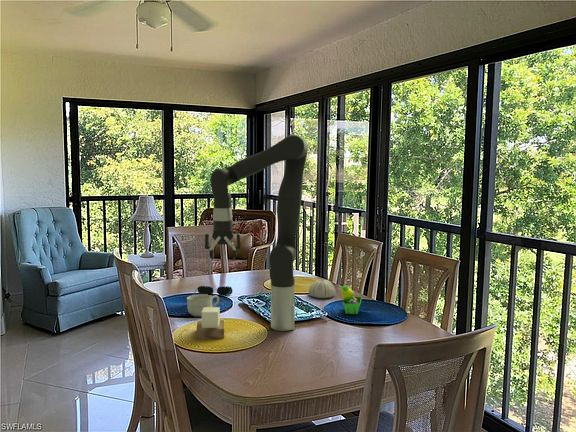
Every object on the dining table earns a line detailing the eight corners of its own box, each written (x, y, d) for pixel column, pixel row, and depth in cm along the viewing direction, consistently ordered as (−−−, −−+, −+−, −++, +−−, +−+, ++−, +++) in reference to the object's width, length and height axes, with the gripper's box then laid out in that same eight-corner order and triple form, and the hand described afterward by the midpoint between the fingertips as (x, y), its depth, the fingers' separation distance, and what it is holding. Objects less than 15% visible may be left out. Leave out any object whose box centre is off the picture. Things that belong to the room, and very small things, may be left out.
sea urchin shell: (326, 301, 222) (326, 284, 222) (302, 296, 231) (302, 280, 230) (340, 295, 233) (340, 279, 232) (317, 291, 241) (318, 275, 240)
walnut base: (223, 330, 184) (223, 320, 183) (224, 339, 174) (224, 328, 173) (197, 331, 182) (197, 321, 182) (196, 340, 172) (196, 330, 172)
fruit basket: (360, 315, 201) (360, 289, 200) (339, 314, 203) (339, 288, 202) (361, 307, 213) (362, 283, 211) (341, 306, 214) (342, 282, 213)
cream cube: (219, 322, 180) (219, 307, 180) (218, 327, 174) (217, 312, 174) (204, 322, 180) (203, 307, 179) (201, 327, 174) (201, 312, 174)
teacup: (187, 319, 195) (187, 300, 194) (186, 311, 205) (185, 293, 204) (221, 316, 198) (221, 298, 197) (218, 309, 209) (218, 291, 208)
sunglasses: (232, 295, 232) (232, 286, 231) (227, 308, 218) (227, 298, 217) (198, 295, 233) (197, 285, 232) (190, 307, 219) (190, 297, 218)
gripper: (241, 218, 191) (241, 257, 193) (206, 218, 191) (206, 257, 192) (239, 220, 183) (240, 261, 185) (203, 220, 183) (203, 261, 185)
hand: (223, 259), depth 189 cm, fingers open, 8 cm apart
